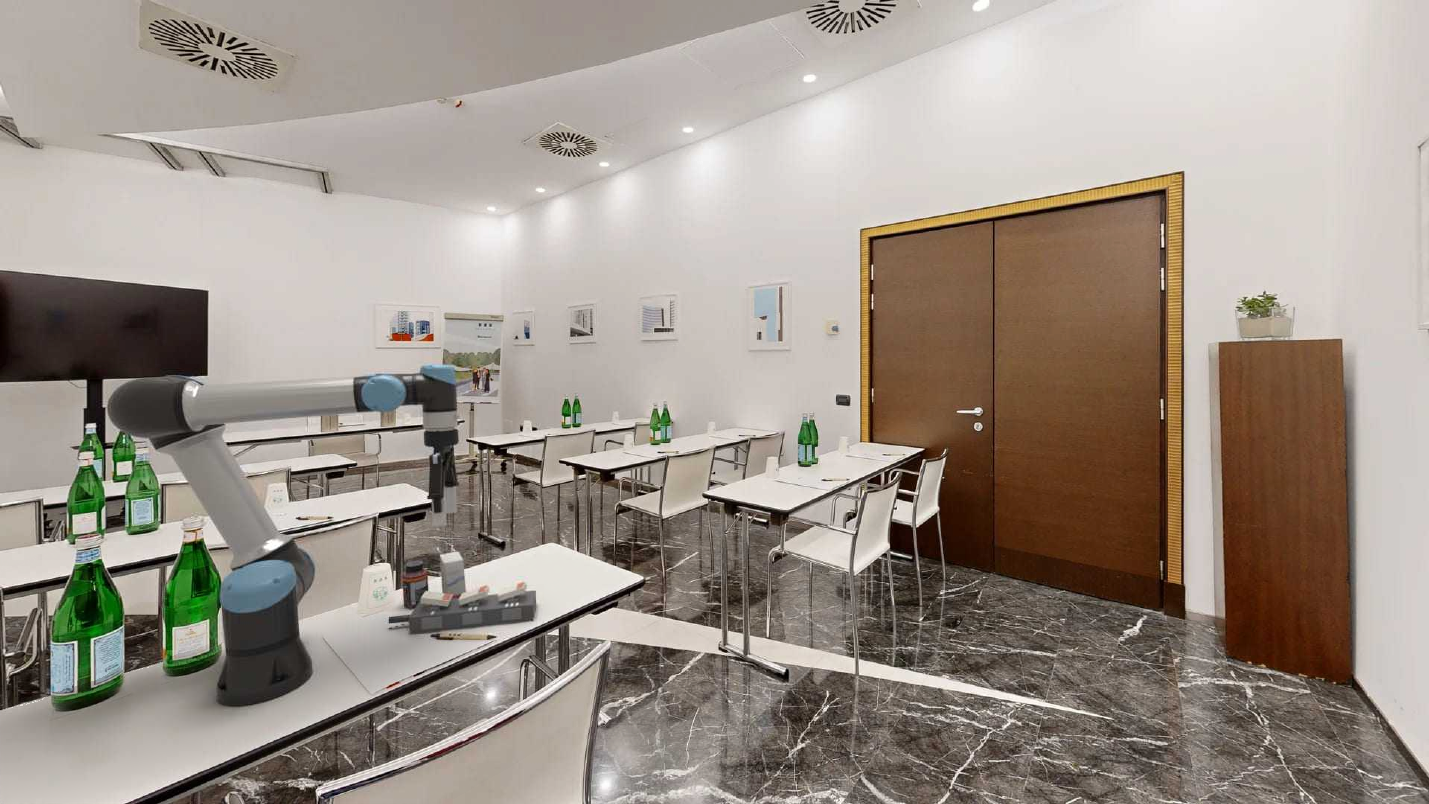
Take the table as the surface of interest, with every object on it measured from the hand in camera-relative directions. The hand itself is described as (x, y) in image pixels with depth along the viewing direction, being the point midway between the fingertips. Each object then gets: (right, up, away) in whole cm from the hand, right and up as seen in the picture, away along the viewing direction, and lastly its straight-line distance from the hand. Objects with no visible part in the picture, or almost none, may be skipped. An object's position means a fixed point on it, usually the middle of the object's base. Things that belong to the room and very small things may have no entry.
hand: (445, 518), depth 138 cm
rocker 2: (+6, -20, +3) cm, 21 cm away
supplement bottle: (-13, -25, +12) cm, 31 cm away
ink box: (-5, -25, +15) cm, 30 cm away
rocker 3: (+15, -20, +5) cm, 25 cm away
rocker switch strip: (+3, -26, +3) cm, 26 cm away
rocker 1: (-3, -20, +1) cm, 21 cm away
